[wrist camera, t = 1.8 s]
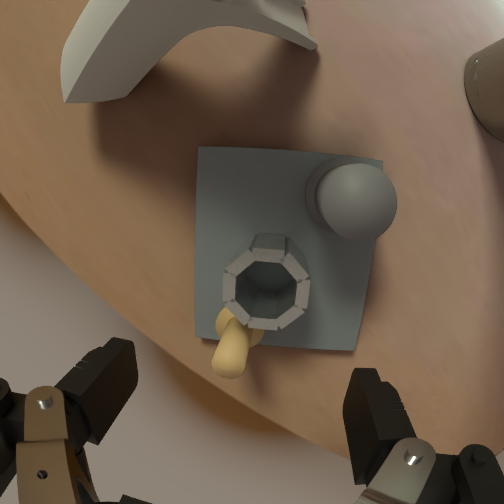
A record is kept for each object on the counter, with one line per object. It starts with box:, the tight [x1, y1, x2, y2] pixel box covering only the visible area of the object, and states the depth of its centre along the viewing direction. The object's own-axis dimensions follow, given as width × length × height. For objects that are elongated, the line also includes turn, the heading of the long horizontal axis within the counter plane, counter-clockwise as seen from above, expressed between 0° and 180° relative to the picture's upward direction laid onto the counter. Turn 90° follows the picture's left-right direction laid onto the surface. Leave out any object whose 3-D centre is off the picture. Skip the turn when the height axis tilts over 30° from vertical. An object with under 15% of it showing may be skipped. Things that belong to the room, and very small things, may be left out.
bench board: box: [195, 147, 397, 379], centre depth 21 cm, size 14×16×8 cm
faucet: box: [61, 0, 318, 103], centre depth 16 cm, size 6×16×20 cm
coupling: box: [222, 232, 311, 330], centre depth 22 cm, size 5×5×5 cm
